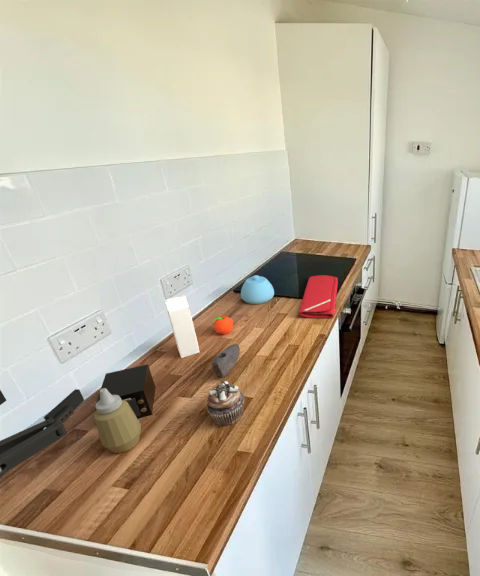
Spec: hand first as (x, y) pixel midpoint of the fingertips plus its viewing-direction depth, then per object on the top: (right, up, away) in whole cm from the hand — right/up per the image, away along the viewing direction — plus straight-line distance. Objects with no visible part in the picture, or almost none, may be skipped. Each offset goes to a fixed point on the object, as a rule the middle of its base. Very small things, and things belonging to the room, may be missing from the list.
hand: (41, 394), depth 60 cm
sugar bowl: (+3, +15, +96) cm, 97 cm away
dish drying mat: (+32, +15, +100) cm, 106 cm away
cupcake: (+19, -17, +33) cm, 41 cm away
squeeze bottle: (-2, -20, +23) cm, 31 cm away
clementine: (0, +2, +69) cm, 69 cm away
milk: (-7, -3, +57) cm, 58 cm away
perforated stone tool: (+11, -7, +51) cm, 52 cm away
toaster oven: (-9, -14, +34) cm, 38 cm away
